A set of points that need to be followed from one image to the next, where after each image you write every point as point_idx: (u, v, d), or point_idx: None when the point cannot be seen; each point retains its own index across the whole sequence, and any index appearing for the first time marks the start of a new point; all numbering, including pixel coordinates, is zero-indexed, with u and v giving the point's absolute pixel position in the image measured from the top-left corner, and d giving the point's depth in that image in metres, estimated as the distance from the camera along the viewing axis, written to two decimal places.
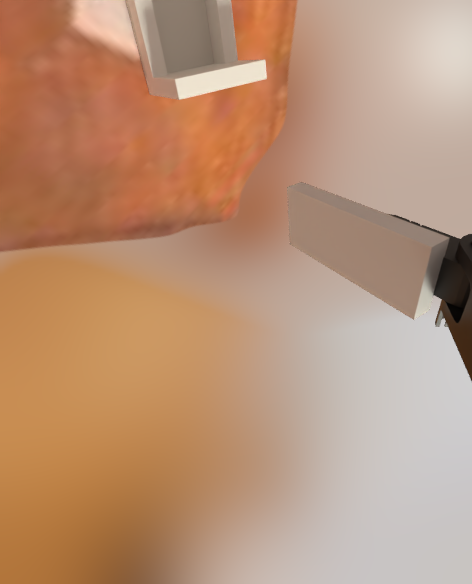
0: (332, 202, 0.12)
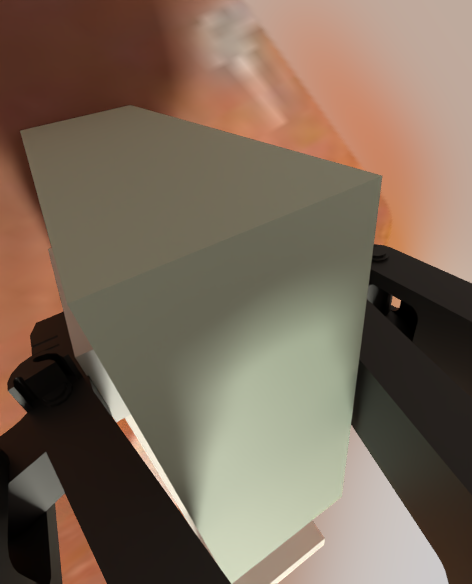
0: None
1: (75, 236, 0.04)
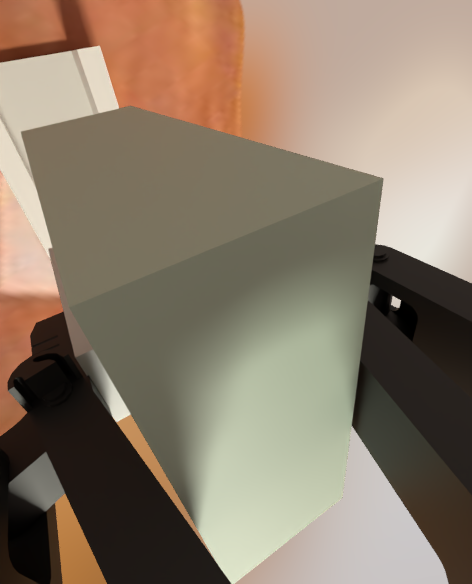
0: None
1: (76, 239, 0.04)
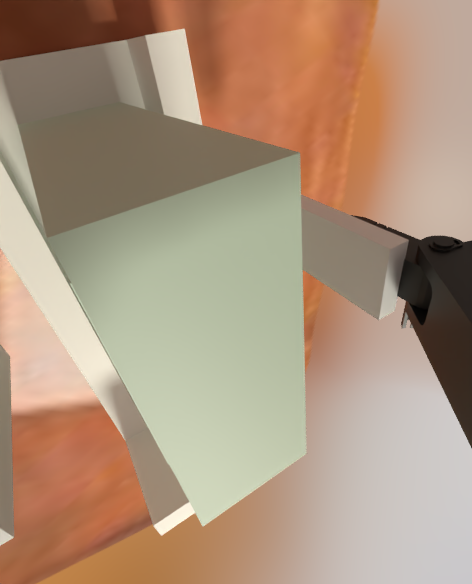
0: (302, 204, 0.12)
1: (58, 199, 0.05)
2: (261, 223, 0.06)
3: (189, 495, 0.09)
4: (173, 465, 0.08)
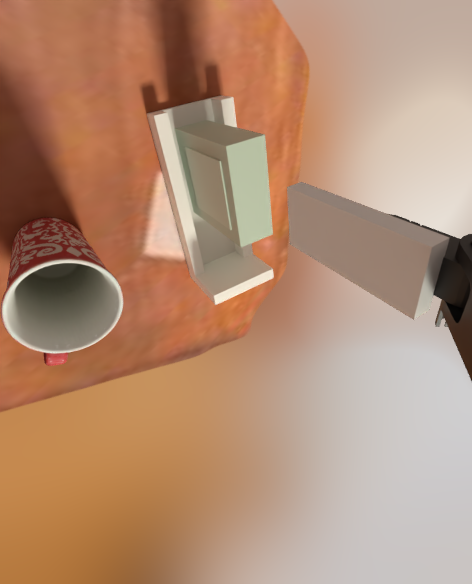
0: (332, 202, 0.12)
1: (221, 142, 0.30)
2: (257, 148, 0.30)
3: (238, 228, 0.34)
4: (236, 212, 0.33)
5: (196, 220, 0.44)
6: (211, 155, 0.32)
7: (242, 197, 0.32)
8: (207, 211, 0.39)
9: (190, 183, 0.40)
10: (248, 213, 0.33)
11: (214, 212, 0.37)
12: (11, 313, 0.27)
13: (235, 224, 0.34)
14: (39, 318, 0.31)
